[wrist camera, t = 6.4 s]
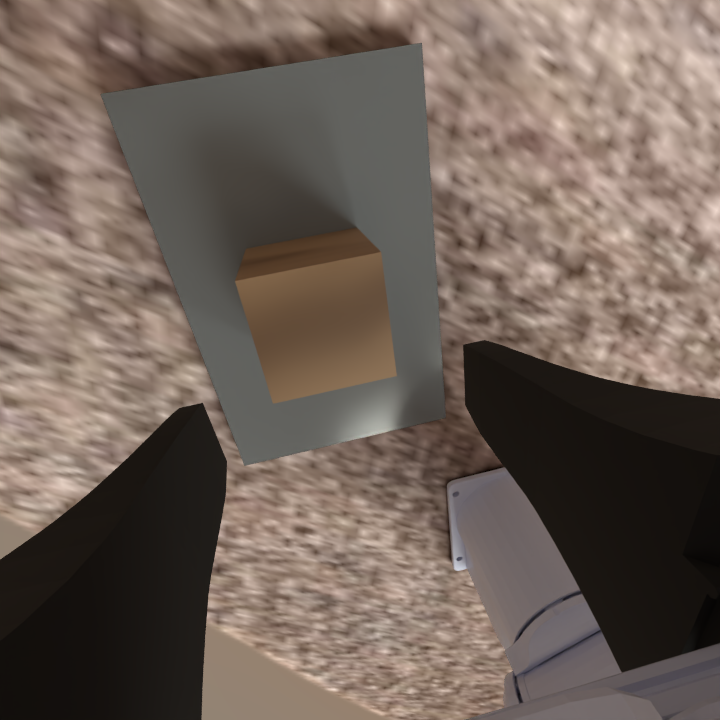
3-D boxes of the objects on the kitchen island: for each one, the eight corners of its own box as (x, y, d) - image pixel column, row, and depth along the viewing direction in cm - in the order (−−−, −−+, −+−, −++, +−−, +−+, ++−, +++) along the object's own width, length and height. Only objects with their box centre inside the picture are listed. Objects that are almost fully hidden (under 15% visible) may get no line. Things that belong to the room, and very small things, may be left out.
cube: (372, 328, 21) (396, 375, 16) (274, 348, 20) (272, 403, 16) (356, 227, 18) (381, 251, 14) (245, 248, 18) (235, 281, 13)
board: (440, 408, 25) (445, 418, 24) (245, 454, 24) (244, 465, 23) (414, 48, 16) (421, 42, 16) (110, 96, 15) (100, 93, 15)
